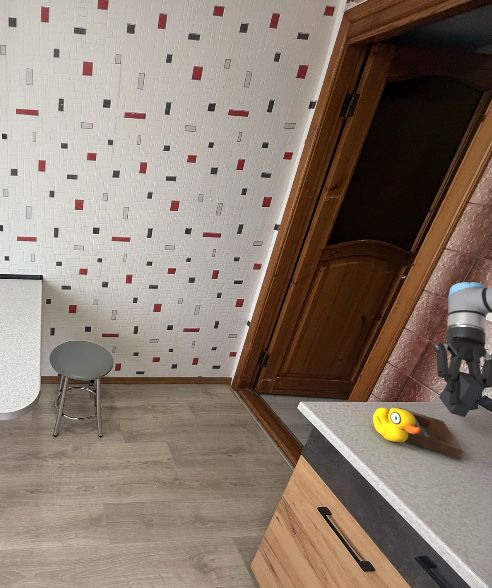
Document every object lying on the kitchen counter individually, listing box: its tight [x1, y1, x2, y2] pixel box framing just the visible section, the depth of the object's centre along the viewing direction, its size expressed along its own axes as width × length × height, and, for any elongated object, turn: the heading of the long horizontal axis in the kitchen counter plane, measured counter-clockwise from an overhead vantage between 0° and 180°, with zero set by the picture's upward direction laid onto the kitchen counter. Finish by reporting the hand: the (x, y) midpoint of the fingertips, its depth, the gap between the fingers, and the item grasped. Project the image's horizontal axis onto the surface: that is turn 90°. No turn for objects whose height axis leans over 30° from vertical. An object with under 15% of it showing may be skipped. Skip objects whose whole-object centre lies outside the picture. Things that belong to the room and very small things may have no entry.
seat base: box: [398, 407, 464, 460], centre depth 93 cm, size 10×12×3 cm
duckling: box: [372, 407, 421, 443], centre depth 89 cm, size 11×5×10 cm, turn 175°
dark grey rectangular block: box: [438, 370, 485, 418], centre depth 95 cm, size 3×8×10 cm, turn 152°
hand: (463, 406), depth 92 cm, fingers closed on dark grey rectangular block, 3 cm apart
